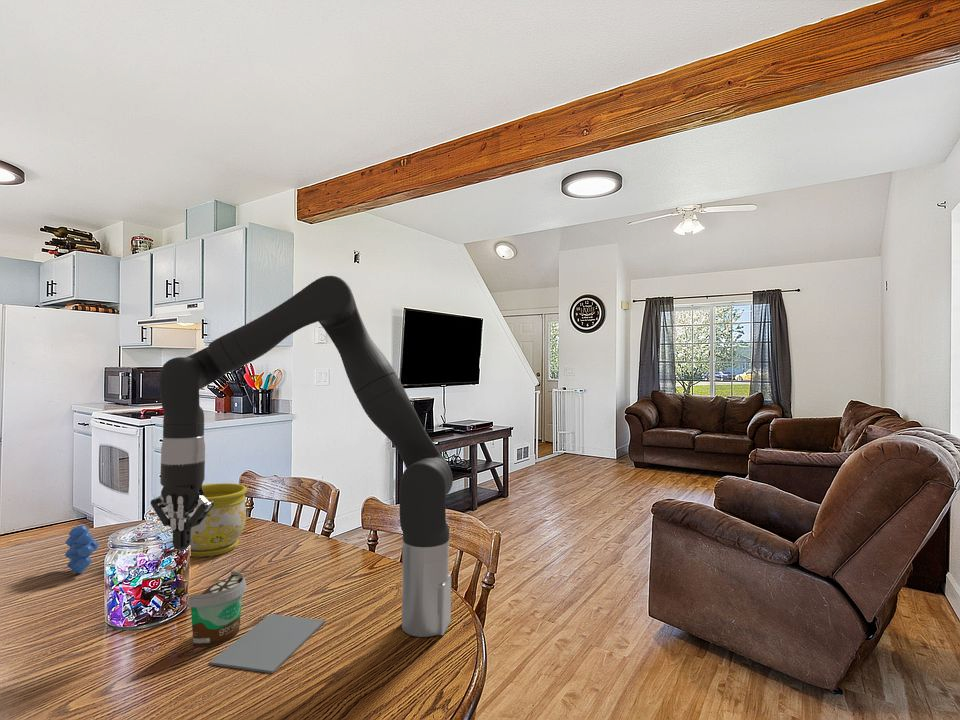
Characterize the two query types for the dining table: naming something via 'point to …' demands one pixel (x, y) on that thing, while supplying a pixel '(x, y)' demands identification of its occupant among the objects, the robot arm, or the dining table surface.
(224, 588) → the food container
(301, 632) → the mat
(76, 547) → the grapes
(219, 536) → the flowerpot
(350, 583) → the dining table surface
